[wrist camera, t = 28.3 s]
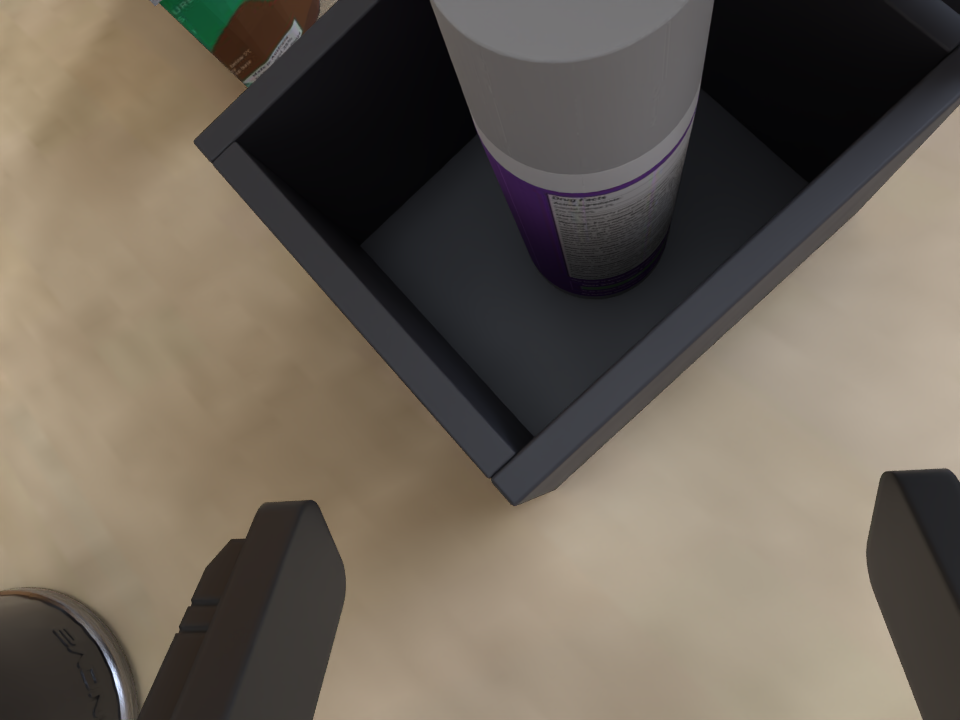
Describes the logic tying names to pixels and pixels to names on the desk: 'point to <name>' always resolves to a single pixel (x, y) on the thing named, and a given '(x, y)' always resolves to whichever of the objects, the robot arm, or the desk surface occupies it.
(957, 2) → the lid
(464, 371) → the dark grey open box
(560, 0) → the container
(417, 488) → the desk surface
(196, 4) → the food container
